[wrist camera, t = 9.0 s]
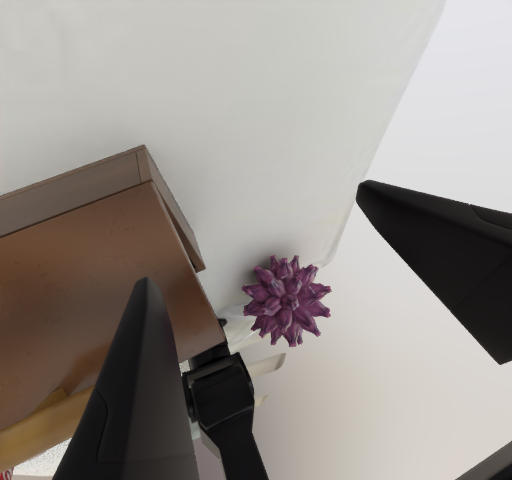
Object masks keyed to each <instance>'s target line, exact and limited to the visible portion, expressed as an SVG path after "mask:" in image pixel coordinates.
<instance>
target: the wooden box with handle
mask: <svg viewBox="0 0 512 480" xmlns="http://www.w3.org/2000/svg"><path fill="white" fill-rule="evenodd" d="M144 277H150V278H151V279H152V280H153V281H154V282H155V283H156V285H157V286H158V287H159V288H160V290H161V292H162V295H163V299H164V302H165V305H166V308H167V311H168V314H169V318H170V321H171V324H172V328H173V333H174V338H175V344H176V350H177V355H178V361H179V363H181V362H183V361H185V360H187V359H189V358H192V357H194V356H196V355H198V354H200V353H202V352H204V351H206V350H208V349H210V348H212V347H214V346H216V345H218V344H220V343H222V342H224V341H225V335H224V333H223V330H222V328H221V326H220V324H219V322H218V320H217V317H216V315H215V313H214V311H213V309H212V307H211V305H210V302H209V300H208V298H207V296H206V294H205V292H204V289H203V287H202V285H201V283H200V281H199V279H198V277H197V274H196V272H195V270H194V268H193V266H192V264H191V261H190V259H189V257H188V255H187V253H186V251H185V249H184V246H183V244H182V242H181V240H180V238H179V236H178V233H177V231H176V229H175V227H174V225H173V223H172V221H171V218H170V216H169V214H168V212H167V210H166V208H165V205H164V203H163V201H162V199H161V197H160V195H159V192H158V190H157V188H156V186H155V184H154V183H153V182H151V181H150V182H147V183H145V184H142V185H140V186H137V187H134V188H132V189H129V190H126V191H124V192H121V193H118V194H116V195H113V196H111V197H108V198H105V199H103V200H100V201H97V202H95V203H92V204H90V205H87V206H84V207H82V208H79V209H76V210H74V211H71V212H69V213H66V214H63V215H61V216H58V217H55V218H53V219H50V220H48V221H45V222H42V223H40V224H37V225H34V226H32V227H29V228H27V229H24V230H21V231H19V232H16V233H13V234H11V235H8V236H6V237H3V238H0V473H3V472H5V471H7V470H9V469H11V468H13V467H15V466H17V465H19V464H21V463H23V462H24V461H26V460H28V459H30V458H32V457H34V456H36V455H38V454H40V453H42V452H44V451H46V450H48V449H50V448H52V447H54V446H56V445H58V444H60V443H62V442H64V441H66V440H68V439H70V438H72V437H73V435H74V433H75V430H76V428H77V426H78V424H79V422H80V419H81V417H82V414H83V412H84V410H85V407H86V405H87V403H88V400H89V398H90V395H91V393H92V390H93V388H95V383H96V380H97V378H98V375H99V373H100V370H101V368H102V365H103V363H104V360H105V358H106V355H107V353H108V350H109V348H110V345H111V343H112V340H113V338H114V335H115V333H116V330H117V328H118V325H119V323H120V320H121V318H122V315H123V313H124V310H125V308H126V305H127V303H128V300H129V297H130V295H131V292H132V290H133V287H134V285H135V283H136V281H137V280H139V279H141V278H144Z"/></svg>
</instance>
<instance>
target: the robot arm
mask: <svg viewBox="0 0 512 480" xmlns="http://www.w3.org/2000/svg"><path fill="white" fill-rule="evenodd" d="M356 202H357V204H358V206H359V207H360V208H361V210H362V211H363V213H364V214H365V215H366V217H367V218H368V219H369V221H370V222H371V224H372V225H373V226H374V228H375V229H376V230H377V231H378V232H379V234H380V235H381V236H382V237H383V238H384V239H385V240H386V241H387V242H388V243H389V245H390V246H391V247H392V248H393V249H394V250H395V251H396V252H397V253H398V254H399V256H400V257H401V258H402V259H403V260H404V261H405V262H406V263H407V264H408V266H409V267H410V268H411V269H412V270H413V271H414V272H415V273H416V274H417V275H418V276H419V278H420V279H421V280H422V281H423V282H424V283H425V284H426V285H427V286H428V287H429V289H430V290H431V291H432V292H433V293H434V294H435V295H436V296H437V297H438V298H439V299H440V301H441V302H442V303H443V304H444V305H445V306H446V307H447V308H448V309H449V310H450V312H451V313H452V314H453V315H454V316H455V317H456V318H457V319H458V321H460V323H461V324H462V325H463V326H464V327H465V328H466V329H467V330H468V332H469V333H470V334H471V335H472V336H473V337H474V338H475V339H476V340H477V341H478V342H479V344H480V345H481V346H482V347H483V348H484V349H485V350H486V351H487V352H488V353H489V354H490V356H491V357H492V358H493V359H494V360H495V361H496V362H497V363H498V364H499V365H502V364H504V363H507V362H510V361H512V213H507V212H501V211H497V210H492V209H488V208H484V207H480V206H475V205H472V204H470V205H469V204H467V203H463V202H459V201H455V200H451V199H447V198H443V197H438V196H434V195H430V194H426V193H422V192H418V191H414V190H410V189H405V188H401V187H397V186H393V185H389V184H385V183H380V182H377V181H373V180H366V181H364V182H362V183H360V184H359V185H358V190H357V195H356ZM217 320H218V322H219V324H220V326H221V328H222V330H223V327H224V326H225V325H226V324H227V320H226V319H217ZM223 333H224V330H223ZM224 335H225V333H224ZM188 362H189V367H190V371H188V372H183V373H182V375H183V376H181V372H180V367H179V361H178V355H177V350H176V344H175V338H174V333H173V328H172V324H171V321H170V318H169V314H168V311H167V308H166V305H165V302H164V299H163V295H162V292H161V290H160V288H159V287H158V286H157V285H156V283H155V282H154V281H153V280H152V279H151V278H150V277H144V278H141V279H139V280H137V281H136V283H135V285H134V287H133V290H132V292H131V295H130V297H129V300H128V303H127V305H126V308H125V310H124V313H123V315H122V318H121V320H120V323H119V325H118V328H117V330H116V333H115V335H114V338H113V340H112V343H111V345H110V348H109V350H108V353H107V355H106V358H105V360H104V363H103V365H102V368H101V370H100V373H99V375H98V378H97V380H96V383H95V388H93V390H92V393H91V395H90V398H89V400H88V403H87V405H86V407H85V410H84V412H83V414H82V417H81V419H80V422H79V424H78V426H77V428H76V430H75V433H74V435H73V437H72V439H71V441H70V443H69V445H68V448H67V450H66V452H65V454H64V456H63V458H62V460H61V462H60V464H59V466H58V468H57V470H56V472H55V474H54V476H53V479H52V480H200V479H199V474H198V468H197V462H196V457H195V454H194V453H195V452H194V446H193V440H192V434H191V429H190V423H189V419H190V418H191V422H192V424H194V423H196V422H198V426H199V431H200V436H201V440H202V443H203V444H204V445H205V446H206V447H207V448H208V449H209V450H210V451H211V452H212V453H213V454H214V455H215V456H216V457H217V458H218V459H219V460H220V463H221V467H222V471H223V475H224V479H225V480H269V479H268V476H267V473H266V470H265V467H264V465H263V462H262V459H261V456H260V453H259V451H258V448H257V445H256V442H255V440H254V436H253V433H252V425H253V415H254V404H255V400H254V388H253V384H252V381H251V378H250V375H249V373H248V371H247V368H246V366H245V364H244V362H243V360H242V358H241V356H240V353H239V352H237V353H235V354H233V355H231V354H230V351H229V348H228V342H227V339H226V336H225V341H224V342H222V343H220V344H218V345H216V346H214V347H212V348H210V349H208V350H206V351H204V352H202V353H200V354H198V355H196V356H194V357H192V358H189V359H188ZM189 386H191V388H189ZM188 416H189V418H188ZM456 480H512V441H511V442H510V443H508V444H507V445H505V446H504V447H502V448H501V449H499V450H498V451H497V452H495V453H494V454H492V455H491V456H489V457H488V458H486V459H485V460H483V461H482V462H480V463H479V464H478V465H476V466H475V467H473V468H472V469H470V470H469V471H467V472H466V473H464V474H463V475H461V476H460V477H459V478H457V479H456Z"/></svg>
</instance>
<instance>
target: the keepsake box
mask: <svg viewBox="0 0 512 480" xmlns="http://www.w3.org/2000/svg"><path fill="white" fill-rule="evenodd" d="M150 181H151V182H153V183H154V184H155V186H156V188H157V190H158V192H159V195H160V197H161V199H162V201H163V203H164V205H165V208H166V210H167V212H168V214H169V216H170V218H171V221H172V223H173V225H174V227H175V229H176V231H177V233H178V236H179V238H180V240H181V242H182V244H183V246H184V249H185V251H186V253H187V255H188V257H189V259H190V261H191V264H192V266H193V268H194V270H195V272H196V273H198V272H199V271H202V270H204V269H206V267H205V264H204V262H203V259H202V256H201V253H200V250H199V247H198V244H197V241H196V239H195V236H194V233H193V231H192V229H191V228H190V226H189V224H188V222H187V220H186V219H185V217H184V215H183V213H182V211H181V210H180V208H179V206H178V204H177V202H176V201H175V199H174V197H173V195H172V193H171V192H170V190H169V188H168V186H167V184H166V183H165V181H164V179H163V177H162V175H161V174H160V172H159V170H158V168H157V166H156V165H155V163H154V161H153V159H152V157H151V156H150V154H149V152H148V150H147V148H146V147H145V145H142V146H139V147H136V148H133V149H130V150H128V151H125V152H122V153H119V154H116V155H114V156H111V157H108V158H105V159H102V160H100V161H97V162H94V163H91V164H88V165H86V166H83V167H80V168H77V169H74V170H72V171H69V172H66V173H63V174H60V175H58V176H55V177H52V178H49V179H46V180H44V181H41V182H38V183H35V184H32V185H30V186H27V187H24V188H21V189H18V190H16V191H13V192H10V193H7V194H4V195H2V196H0V238H3V237H6V236H8V235H11V234H13V233H16V232H19V231H21V230H24V229H27V228H29V227H32V226H34V225H37V224H40V223H42V222H45V221H48V220H50V219H53V218H55V217H58V216H61V215H63V214H66V213H69V212H71V211H74V210H76V209H79V208H82V207H84V206H87V205H90V204H92V203H95V202H97V201H100V200H103V199H105V198H108V197H111V196H113V195H116V194H118V193H121V192H124V191H126V190H129V189H132V188H134V187H137V186H140V185H142V184H145V183H147V182H150Z"/></svg>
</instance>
